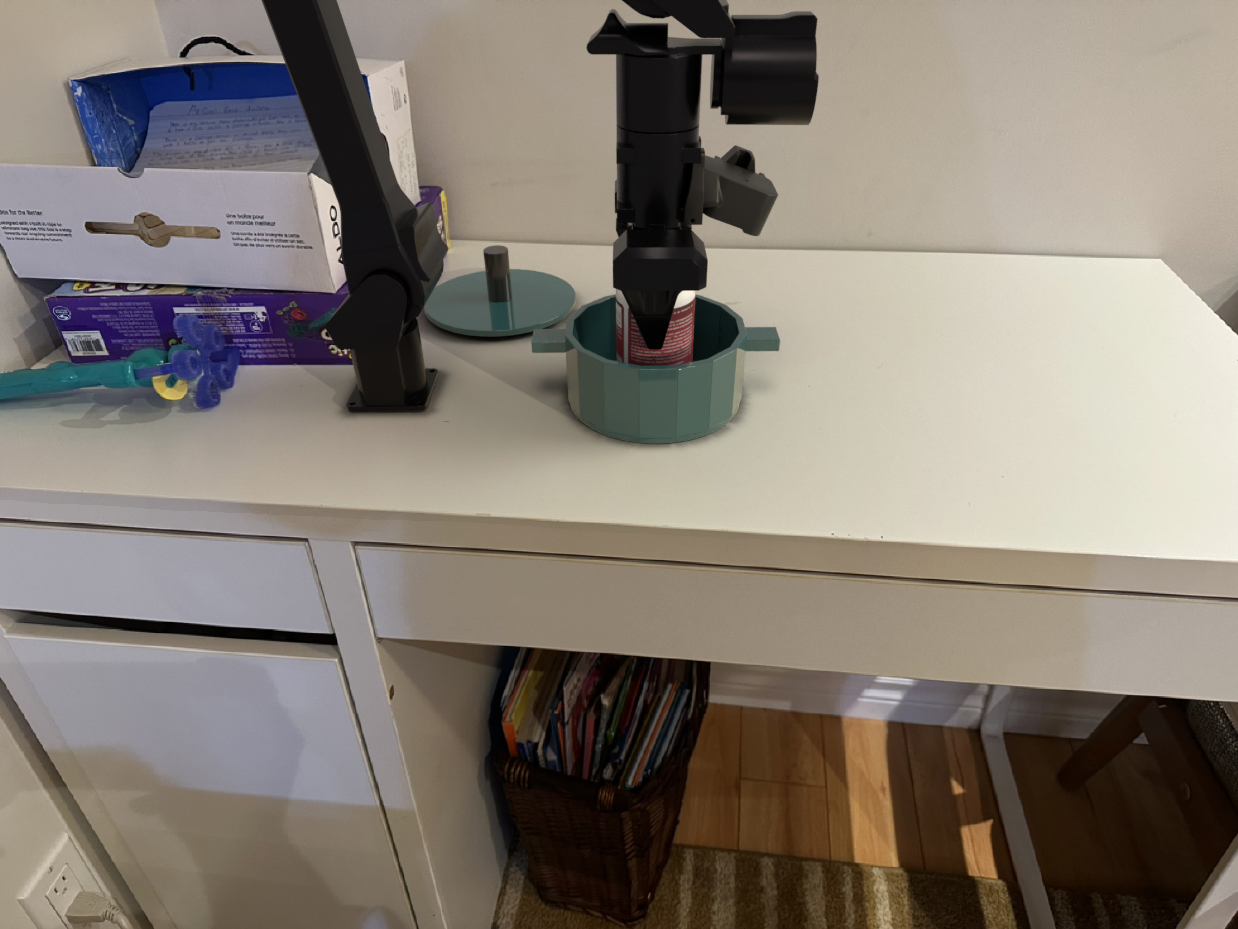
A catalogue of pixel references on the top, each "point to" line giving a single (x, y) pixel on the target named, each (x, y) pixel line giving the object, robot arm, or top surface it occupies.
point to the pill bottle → (676, 339)
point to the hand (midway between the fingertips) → (653, 330)
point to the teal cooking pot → (655, 374)
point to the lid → (500, 299)
